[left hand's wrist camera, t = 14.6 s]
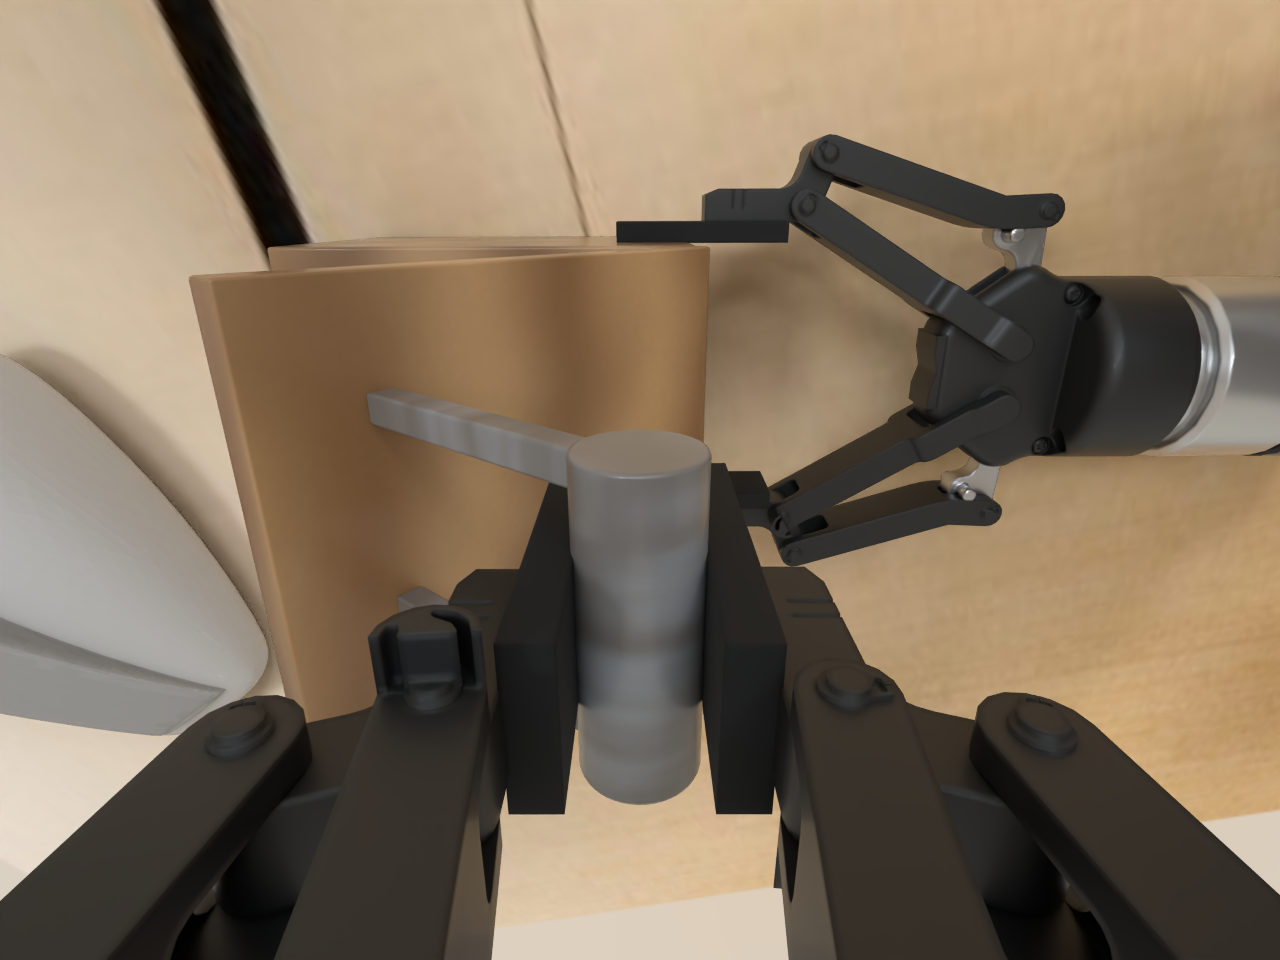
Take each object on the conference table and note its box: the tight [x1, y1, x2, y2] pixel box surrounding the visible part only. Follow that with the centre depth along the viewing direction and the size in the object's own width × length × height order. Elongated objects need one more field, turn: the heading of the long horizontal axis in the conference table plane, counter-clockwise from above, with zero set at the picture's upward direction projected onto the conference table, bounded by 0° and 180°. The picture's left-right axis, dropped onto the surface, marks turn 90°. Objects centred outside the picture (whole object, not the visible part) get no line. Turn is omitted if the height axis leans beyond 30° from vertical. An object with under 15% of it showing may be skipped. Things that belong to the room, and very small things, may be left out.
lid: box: [189, 246, 711, 805], centre depth 17 cm, size 15×10×9 cm
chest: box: [268, 237, 694, 271], centre depth 30 cm, size 14×10×11 cm
